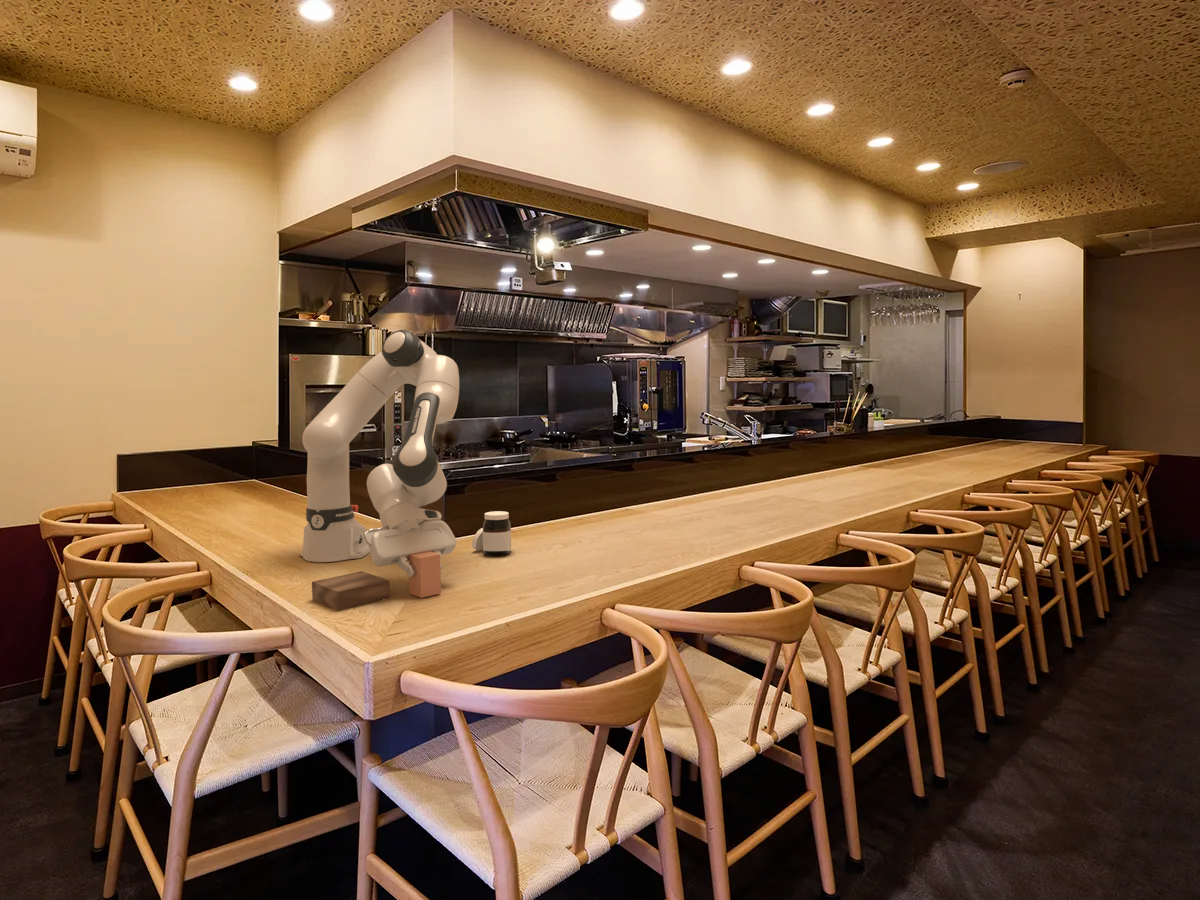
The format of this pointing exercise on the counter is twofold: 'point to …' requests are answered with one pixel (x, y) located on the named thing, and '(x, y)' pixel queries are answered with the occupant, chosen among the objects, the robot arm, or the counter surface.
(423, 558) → the terracotta block
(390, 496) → the robot arm
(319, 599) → the walnut slab
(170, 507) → the counter surface
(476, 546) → the spread jar
